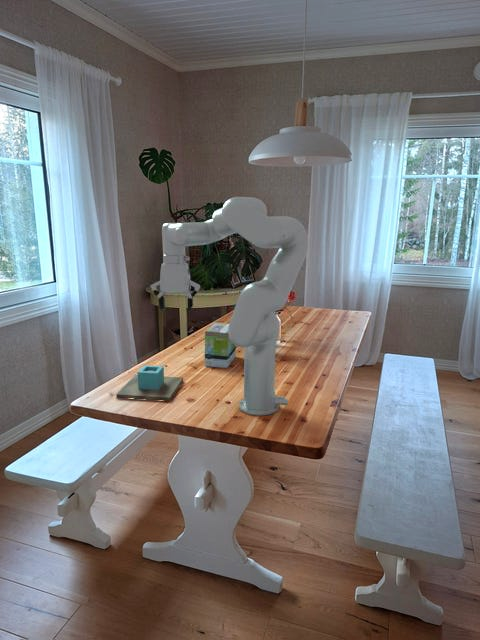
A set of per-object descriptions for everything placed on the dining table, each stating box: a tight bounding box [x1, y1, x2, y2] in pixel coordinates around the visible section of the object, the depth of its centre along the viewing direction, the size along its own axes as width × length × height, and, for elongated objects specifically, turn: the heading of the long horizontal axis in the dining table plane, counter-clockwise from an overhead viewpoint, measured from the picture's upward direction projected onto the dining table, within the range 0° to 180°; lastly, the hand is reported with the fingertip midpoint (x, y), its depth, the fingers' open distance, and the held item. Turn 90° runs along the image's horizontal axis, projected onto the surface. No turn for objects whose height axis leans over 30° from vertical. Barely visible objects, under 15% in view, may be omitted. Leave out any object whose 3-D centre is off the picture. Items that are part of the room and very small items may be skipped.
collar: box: [137, 364, 165, 390], centre depth 154 cm, size 7×7×6 cm
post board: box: [115, 370, 184, 402], centre depth 155 cm, size 18×18×6 cm
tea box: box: [204, 322, 237, 369], centre depth 183 cm, size 15×10×15 cm, turn 168°
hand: (176, 308), depth 157 cm, fingers open, 9 cm apart
